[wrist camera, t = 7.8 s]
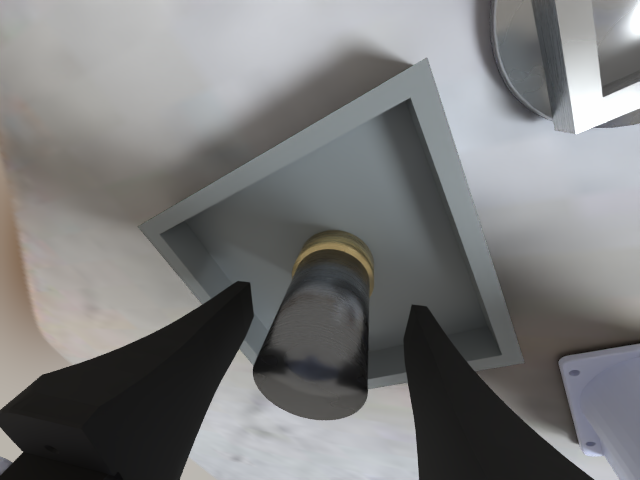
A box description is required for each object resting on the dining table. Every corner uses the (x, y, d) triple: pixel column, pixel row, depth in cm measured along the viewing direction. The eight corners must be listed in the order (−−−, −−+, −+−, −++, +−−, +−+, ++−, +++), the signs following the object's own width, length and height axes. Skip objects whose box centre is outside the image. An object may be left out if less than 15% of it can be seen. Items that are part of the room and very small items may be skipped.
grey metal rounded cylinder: (386, 245, 13) (397, 368, 7) (358, 303, 15) (348, 437, 9) (310, 219, 14) (258, 319, 7) (292, 279, 15) (239, 398, 9)
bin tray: (502, 324, 15) (524, 362, 13) (294, 370, 20) (284, 402, 18) (415, 66, 10) (427, 57, 8) (171, 208, 15) (137, 226, 13)
